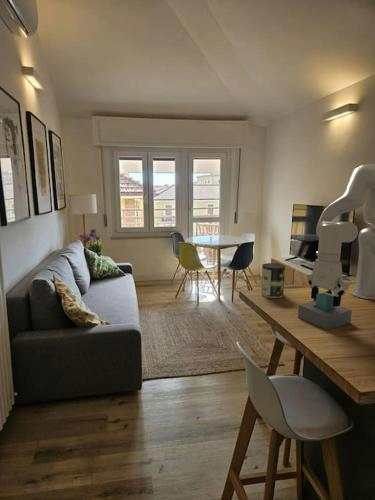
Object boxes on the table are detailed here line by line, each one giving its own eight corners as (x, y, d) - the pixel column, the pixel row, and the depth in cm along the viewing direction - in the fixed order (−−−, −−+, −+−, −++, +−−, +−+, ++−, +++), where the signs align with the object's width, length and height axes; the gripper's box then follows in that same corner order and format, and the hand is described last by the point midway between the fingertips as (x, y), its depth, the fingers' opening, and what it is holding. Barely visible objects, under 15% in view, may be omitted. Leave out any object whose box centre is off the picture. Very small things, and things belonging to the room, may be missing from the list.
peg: (314, 319, 122) (316, 293, 120) (322, 316, 124) (324, 292, 122) (324, 323, 118) (326, 297, 116) (332, 321, 120) (334, 295, 118)
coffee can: (285, 293, 152) (287, 264, 149) (280, 299, 143) (282, 269, 140) (264, 290, 157) (265, 262, 154) (258, 296, 148) (259, 266, 146)
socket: (297, 317, 123) (298, 304, 122) (321, 311, 129) (322, 299, 128) (326, 330, 112) (327, 316, 111) (350, 323, 118) (351, 310, 117)
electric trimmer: (334, 297, 148) (334, 290, 148) (320, 305, 137) (321, 298, 137) (325, 295, 151) (326, 288, 150) (312, 303, 140) (312, 296, 139)
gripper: (302, 254, 122) (299, 296, 125) (343, 263, 107) (338, 311, 110) (316, 252, 125) (313, 294, 129) (357, 260, 110) (352, 307, 114)
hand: (325, 302), depth 119 cm, fingers open, 9 cm apart
